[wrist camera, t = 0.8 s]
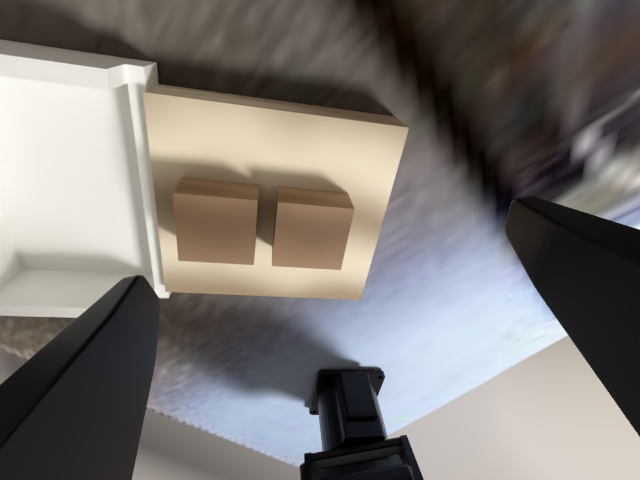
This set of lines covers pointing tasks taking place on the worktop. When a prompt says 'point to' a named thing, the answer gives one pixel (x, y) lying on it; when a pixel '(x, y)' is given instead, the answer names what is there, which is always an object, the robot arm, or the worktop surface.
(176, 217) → the walnut tile
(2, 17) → the worktop surface
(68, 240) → the box
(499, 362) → the worktop surface
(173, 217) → the birch plate
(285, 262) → the walnut tile
